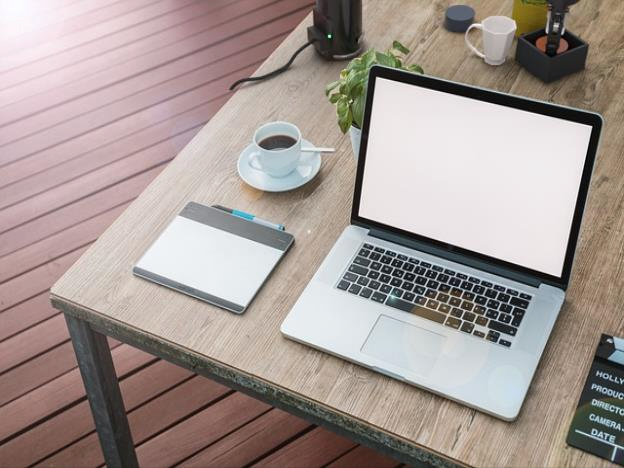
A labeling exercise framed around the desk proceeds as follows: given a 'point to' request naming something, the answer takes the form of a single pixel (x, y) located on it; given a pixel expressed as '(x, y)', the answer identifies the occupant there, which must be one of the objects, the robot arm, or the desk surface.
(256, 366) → the desk surface
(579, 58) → the tub
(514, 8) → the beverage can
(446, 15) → the dark blue short cylinder
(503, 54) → the cup
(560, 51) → the terracotta disc
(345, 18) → the robot arm
